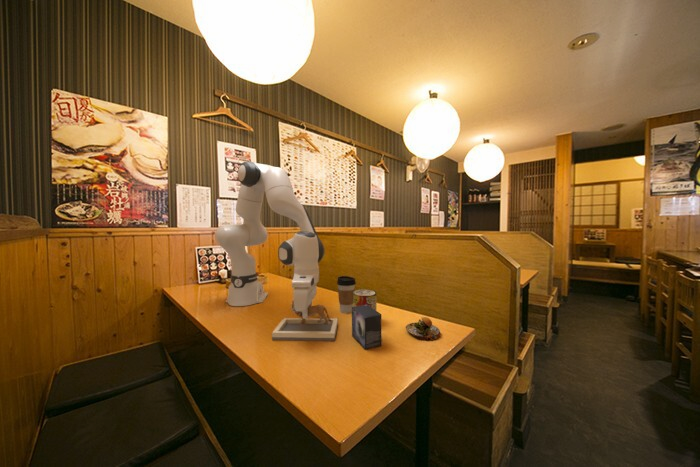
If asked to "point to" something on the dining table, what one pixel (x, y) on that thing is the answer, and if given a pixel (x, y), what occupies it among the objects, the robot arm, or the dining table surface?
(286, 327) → the picture frame
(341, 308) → the coffee cup
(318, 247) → the robot arm
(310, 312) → the lion figurine
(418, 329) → the plate of food
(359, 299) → the yellow food can
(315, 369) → the dining table surface
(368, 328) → the small box
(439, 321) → the dining table surface
